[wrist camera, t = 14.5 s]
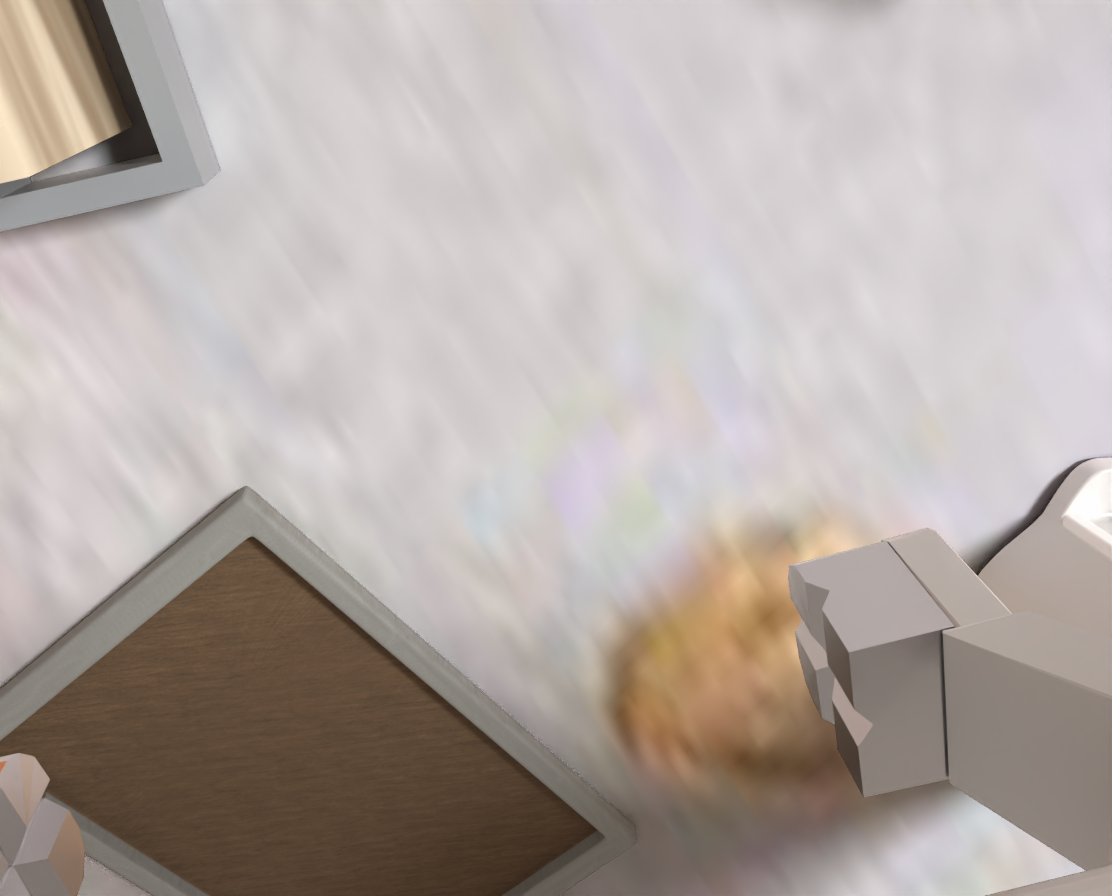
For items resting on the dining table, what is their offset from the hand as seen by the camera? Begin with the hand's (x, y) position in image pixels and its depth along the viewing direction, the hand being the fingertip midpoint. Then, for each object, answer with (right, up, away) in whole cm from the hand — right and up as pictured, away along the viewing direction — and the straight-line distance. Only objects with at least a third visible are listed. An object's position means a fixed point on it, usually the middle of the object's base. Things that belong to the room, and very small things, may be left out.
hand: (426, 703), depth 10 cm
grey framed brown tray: (-10, -14, +38) cm, 42 cm away
